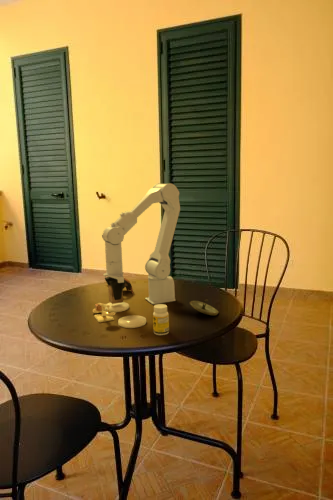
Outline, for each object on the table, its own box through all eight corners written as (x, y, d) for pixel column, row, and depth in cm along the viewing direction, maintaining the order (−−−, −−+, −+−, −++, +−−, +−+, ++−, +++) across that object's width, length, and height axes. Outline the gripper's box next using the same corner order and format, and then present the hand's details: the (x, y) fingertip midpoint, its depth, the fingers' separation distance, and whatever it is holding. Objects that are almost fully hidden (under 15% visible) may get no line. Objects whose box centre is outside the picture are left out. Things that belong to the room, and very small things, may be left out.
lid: (188, 309, 144) (187, 295, 144) (216, 308, 145) (215, 294, 144) (191, 319, 134) (190, 304, 133) (221, 318, 134) (220, 303, 134)
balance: (104, 310, 145) (103, 293, 144) (118, 325, 130) (117, 306, 129) (90, 312, 143) (89, 295, 142) (103, 327, 128) (102, 308, 127)
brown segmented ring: (135, 296, 163) (125, 281, 159) (115, 307, 164) (104, 292, 160) (133, 281, 174) (124, 267, 170) (114, 292, 174) (104, 277, 171)
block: (119, 299, 149) (118, 283, 148) (123, 302, 146) (122, 286, 145) (109, 301, 148) (108, 285, 147) (112, 304, 144) (111, 287, 143)
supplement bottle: (153, 330, 125) (152, 303, 124) (168, 329, 126) (167, 303, 124) (153, 336, 121) (153, 308, 119) (169, 335, 121) (169, 308, 120)
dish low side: (124, 303, 153) (124, 300, 153) (132, 309, 145) (132, 307, 145) (100, 306, 149) (100, 304, 149) (107, 313, 141) (107, 311, 141)
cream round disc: (140, 316, 138) (140, 313, 138) (150, 324, 130) (150, 321, 130) (114, 320, 134) (114, 318, 134) (123, 329, 126) (123, 326, 126)
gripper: (97, 258, 149) (99, 294, 151) (109, 265, 136) (111, 304, 138) (116, 256, 152) (117, 291, 154) (129, 263, 139) (130, 301, 141)
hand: (115, 297), depth 147 cm, fingers closed on block, 4 cm apart
